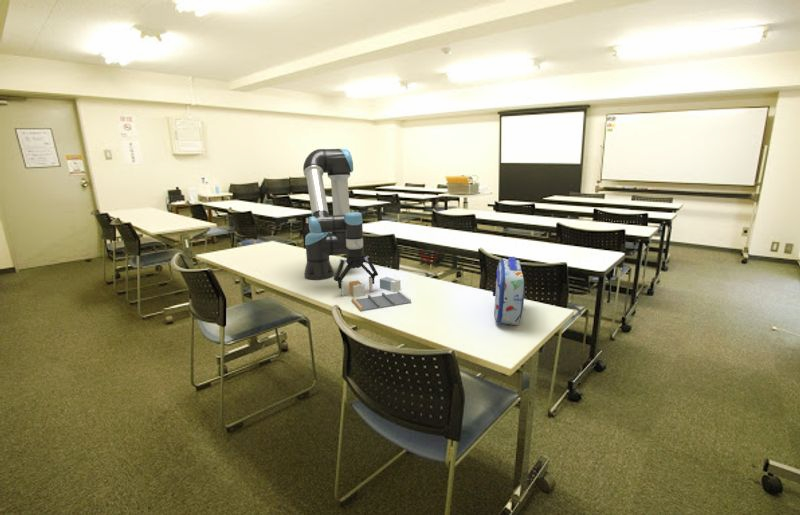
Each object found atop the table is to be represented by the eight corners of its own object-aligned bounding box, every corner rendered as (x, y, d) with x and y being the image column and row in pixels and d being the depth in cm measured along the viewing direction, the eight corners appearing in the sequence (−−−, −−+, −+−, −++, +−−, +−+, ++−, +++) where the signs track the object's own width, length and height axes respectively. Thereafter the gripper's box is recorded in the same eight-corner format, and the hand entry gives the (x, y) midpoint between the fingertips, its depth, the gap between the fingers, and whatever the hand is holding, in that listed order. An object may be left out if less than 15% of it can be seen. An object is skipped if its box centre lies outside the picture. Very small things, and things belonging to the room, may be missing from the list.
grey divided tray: (351, 301, 167) (351, 297, 166) (399, 293, 175) (399, 290, 175) (360, 311, 155) (360, 307, 155) (411, 302, 164) (411, 299, 163)
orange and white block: (349, 291, 180) (348, 280, 179) (358, 289, 182) (358, 278, 180) (354, 297, 172) (354, 285, 171) (364, 295, 174) (364, 284, 172)
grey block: (379, 288, 183) (379, 277, 182) (386, 285, 187) (386, 275, 185) (393, 292, 177) (393, 281, 176) (400, 289, 181) (400, 278, 179)
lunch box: (492, 302, 163) (494, 251, 158) (517, 303, 161) (520, 252, 156) (494, 329, 137) (497, 270, 132) (524, 331, 135) (528, 271, 130)
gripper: (328, 252, 163) (331, 299, 168) (384, 246, 173) (385, 291, 178) (325, 248, 170) (328, 294, 175) (378, 243, 180) (379, 286, 185)
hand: (356, 292), depth 177 cm, fingers open, 13 cm apart
